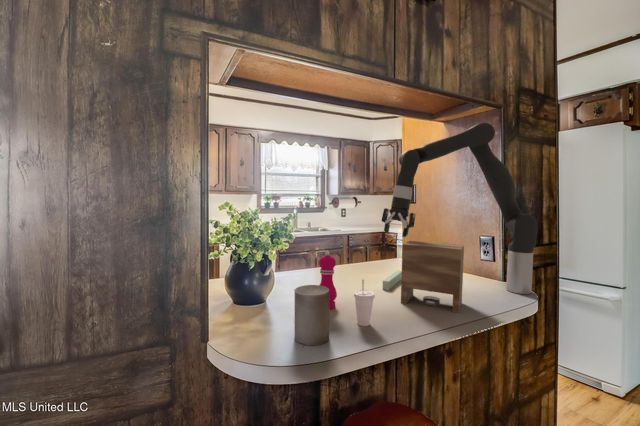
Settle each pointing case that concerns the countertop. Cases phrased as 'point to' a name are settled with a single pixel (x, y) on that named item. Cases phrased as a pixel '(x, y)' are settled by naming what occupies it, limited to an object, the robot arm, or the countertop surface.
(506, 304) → the countertop surface
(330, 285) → the pepper mill
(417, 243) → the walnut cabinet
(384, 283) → the sage stick
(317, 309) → the pillar candle
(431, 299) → the steel puck
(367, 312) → the smoothie
